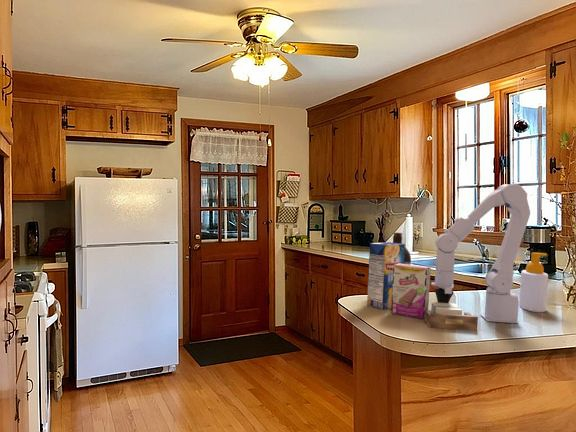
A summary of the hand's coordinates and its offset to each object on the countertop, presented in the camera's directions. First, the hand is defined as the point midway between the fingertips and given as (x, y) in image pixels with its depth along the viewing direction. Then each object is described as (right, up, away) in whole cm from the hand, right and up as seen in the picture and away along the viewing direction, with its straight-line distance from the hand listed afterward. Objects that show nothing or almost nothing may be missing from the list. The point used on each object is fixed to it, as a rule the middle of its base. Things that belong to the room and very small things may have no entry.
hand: (442, 311), depth 157 cm
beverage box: (-17, -1, +11) cm, 20 cm away
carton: (-1, -2, -6) cm, 6 cm away
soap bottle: (+38, -2, +16) cm, 41 cm away
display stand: (-1, -2, -11) cm, 12 cm away
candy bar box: (-11, -1, -1) cm, 11 cm away
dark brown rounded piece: (-10, 0, +25) cm, 27 cm away
